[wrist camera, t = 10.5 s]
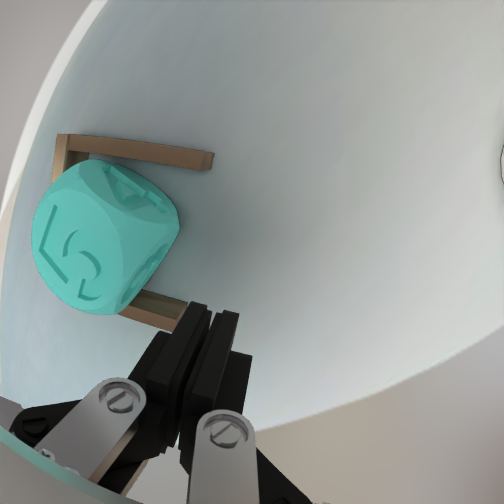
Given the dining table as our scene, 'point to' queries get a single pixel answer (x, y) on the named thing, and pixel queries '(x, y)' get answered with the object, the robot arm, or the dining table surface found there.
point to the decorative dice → (101, 235)
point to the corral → (79, 146)
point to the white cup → (502, 164)
